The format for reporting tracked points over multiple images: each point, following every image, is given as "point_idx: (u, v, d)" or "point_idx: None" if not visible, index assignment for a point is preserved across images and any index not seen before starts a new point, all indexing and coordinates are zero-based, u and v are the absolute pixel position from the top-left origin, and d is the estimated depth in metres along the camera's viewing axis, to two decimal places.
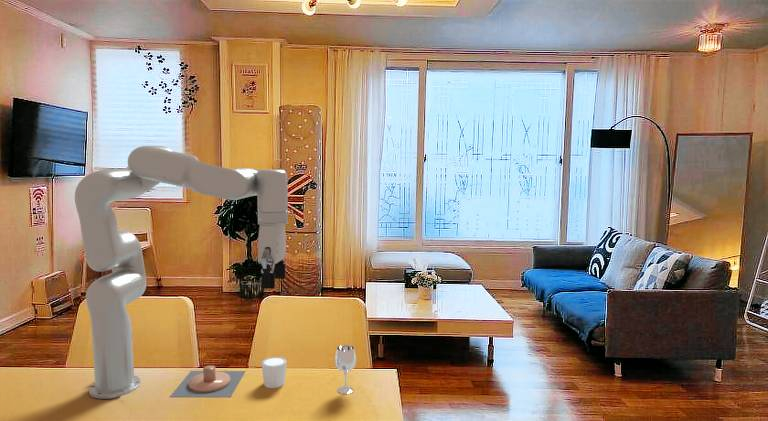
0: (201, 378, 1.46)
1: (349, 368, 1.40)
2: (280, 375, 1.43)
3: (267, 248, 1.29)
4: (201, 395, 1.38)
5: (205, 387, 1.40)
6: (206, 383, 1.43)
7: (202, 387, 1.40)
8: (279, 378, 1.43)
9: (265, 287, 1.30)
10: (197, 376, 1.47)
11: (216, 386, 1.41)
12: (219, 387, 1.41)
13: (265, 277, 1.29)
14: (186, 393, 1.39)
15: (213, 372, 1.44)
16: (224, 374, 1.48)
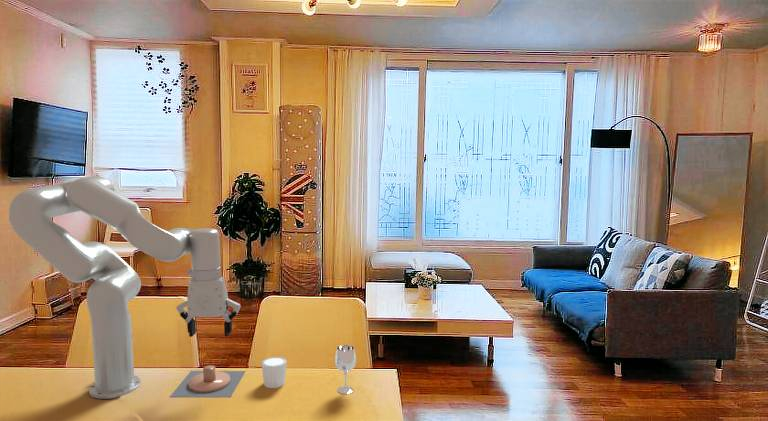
0: (201, 378, 1.46)
1: (349, 368, 1.40)
2: (280, 375, 1.43)
3: (226, 298, 1.42)
4: (201, 395, 1.38)
5: (205, 387, 1.40)
6: (206, 383, 1.43)
7: (202, 387, 1.40)
8: (279, 378, 1.43)
9: (228, 334, 1.43)
10: (197, 376, 1.47)
11: (216, 386, 1.41)
12: (219, 387, 1.41)
13: (230, 324, 1.43)
14: (186, 393, 1.39)
15: (213, 372, 1.44)
16: (224, 374, 1.48)
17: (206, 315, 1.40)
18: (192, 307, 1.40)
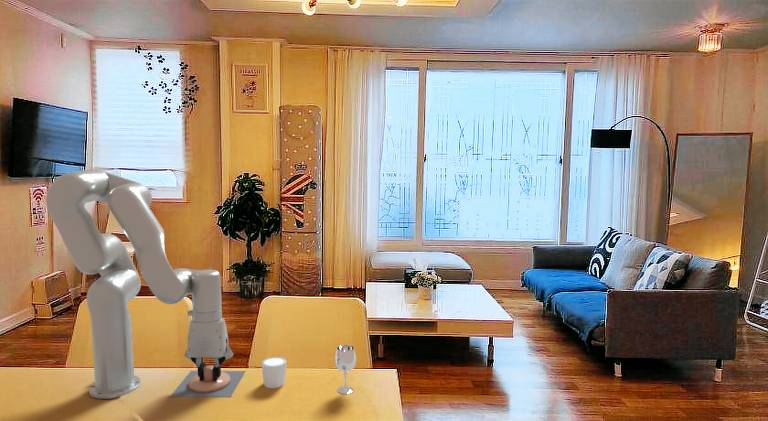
0: None
1: (349, 368, 1.40)
2: (280, 375, 1.43)
3: None
4: (201, 395, 1.38)
5: (205, 387, 1.40)
6: (206, 383, 1.43)
7: (202, 387, 1.40)
8: (279, 378, 1.43)
9: (216, 379, 1.44)
10: (197, 376, 1.47)
11: (216, 386, 1.41)
12: (219, 387, 1.41)
13: (219, 368, 1.44)
14: (186, 393, 1.39)
15: None
16: (224, 374, 1.48)
17: (206, 356, 1.41)
18: (192, 348, 1.41)
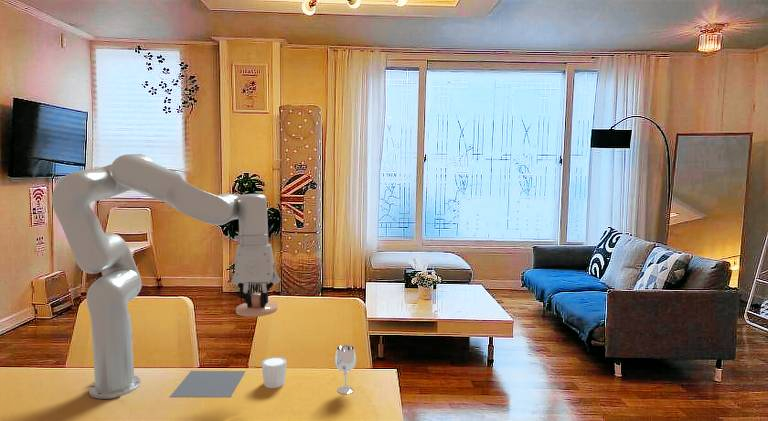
0: None
1: (349, 368, 1.40)
2: (280, 375, 1.43)
3: (272, 268, 1.41)
4: (201, 395, 1.38)
5: (254, 312, 1.38)
6: (254, 309, 1.40)
7: (251, 312, 1.38)
8: (279, 378, 1.43)
9: (264, 305, 1.42)
10: (243, 304, 1.45)
11: (265, 311, 1.39)
12: (268, 312, 1.39)
13: (266, 295, 1.42)
14: (186, 393, 1.39)
15: None
16: (270, 302, 1.46)
17: (254, 281, 1.39)
18: (240, 273, 1.39)
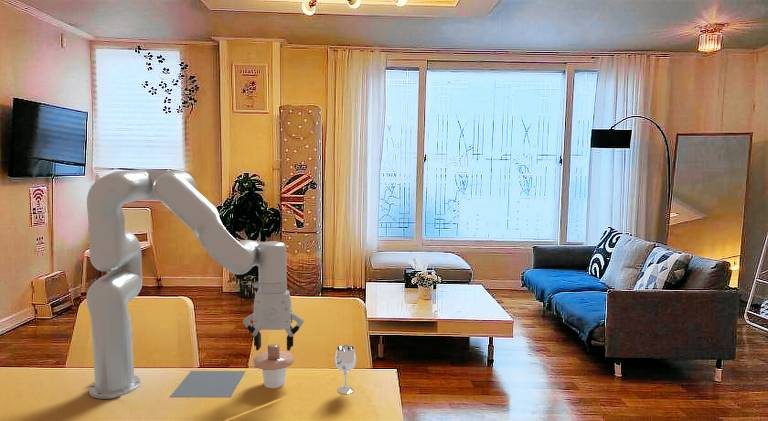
0: (265, 356, 1.45)
1: (349, 368, 1.40)
2: (280, 375, 1.43)
3: (291, 312, 1.43)
4: (201, 395, 1.38)
5: (271, 365, 1.40)
6: (271, 361, 1.42)
7: (269, 365, 1.40)
8: (279, 378, 1.43)
9: (289, 348, 1.43)
10: (260, 355, 1.46)
11: (282, 364, 1.41)
12: (285, 365, 1.41)
13: (292, 338, 1.43)
14: (186, 393, 1.39)
15: (278, 350, 1.43)
16: (287, 353, 1.48)
17: (272, 328, 1.41)
18: (258, 319, 1.40)
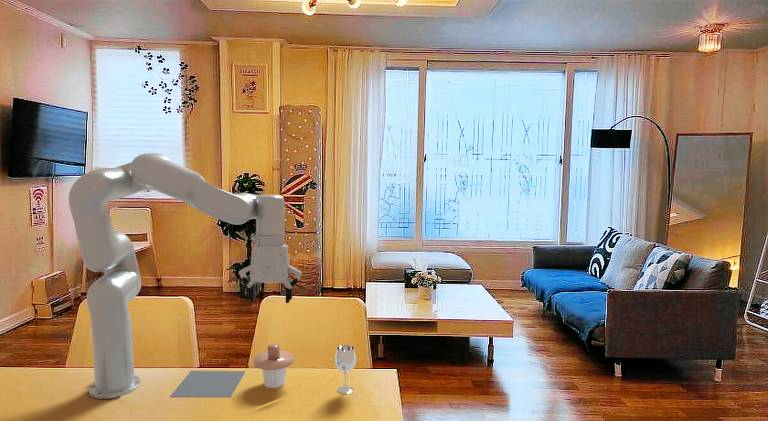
0: (265, 356, 1.45)
1: (349, 368, 1.40)
2: (280, 375, 1.43)
3: (288, 265, 1.42)
4: (201, 395, 1.38)
5: (272, 365, 1.40)
6: (271, 361, 1.42)
7: (269, 365, 1.40)
8: (279, 378, 1.43)
9: (288, 301, 1.43)
10: (260, 355, 1.46)
11: (282, 364, 1.41)
12: (285, 365, 1.41)
13: (291, 291, 1.43)
14: (186, 393, 1.39)
15: (278, 350, 1.43)
16: (287, 353, 1.48)
17: (269, 280, 1.40)
18: (255, 272, 1.40)
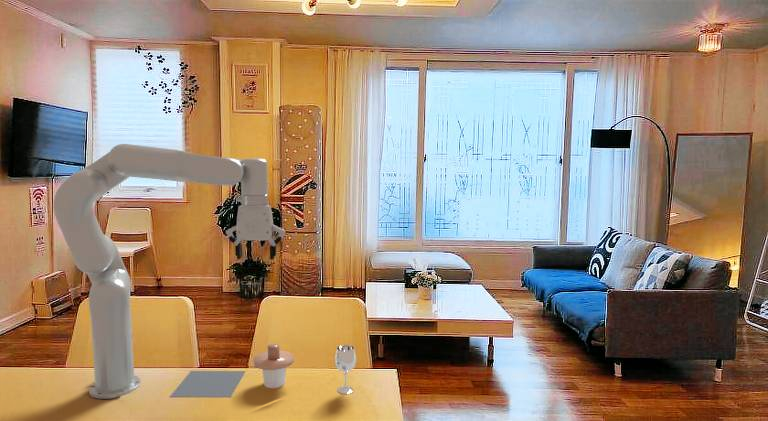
0: (265, 356, 1.45)
1: (349, 368, 1.40)
2: (280, 375, 1.43)
3: (272, 224, 1.52)
4: (201, 395, 1.38)
5: (271, 365, 1.40)
6: (271, 361, 1.42)
7: (268, 365, 1.40)
8: (279, 378, 1.43)
9: (273, 258, 1.53)
10: (260, 355, 1.46)
11: (282, 364, 1.41)
12: (285, 365, 1.41)
13: (275, 248, 1.53)
14: (186, 393, 1.39)
15: (278, 350, 1.43)
16: (287, 353, 1.48)
17: (254, 238, 1.50)
18: (241, 230, 1.50)
